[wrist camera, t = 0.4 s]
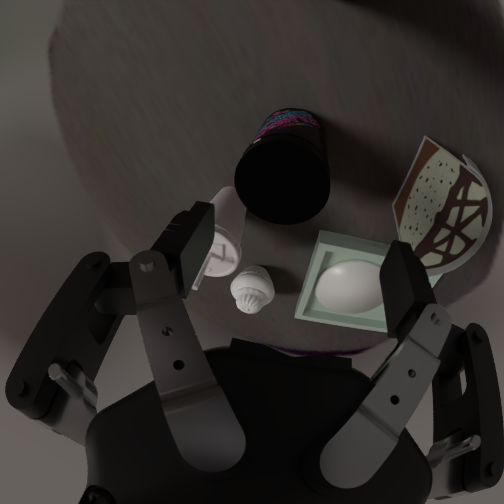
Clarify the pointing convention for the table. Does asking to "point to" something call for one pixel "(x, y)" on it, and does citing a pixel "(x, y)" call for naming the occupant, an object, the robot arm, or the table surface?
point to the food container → (442, 208)
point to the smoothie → (224, 236)
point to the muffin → (252, 289)
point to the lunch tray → (345, 283)
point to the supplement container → (285, 169)
